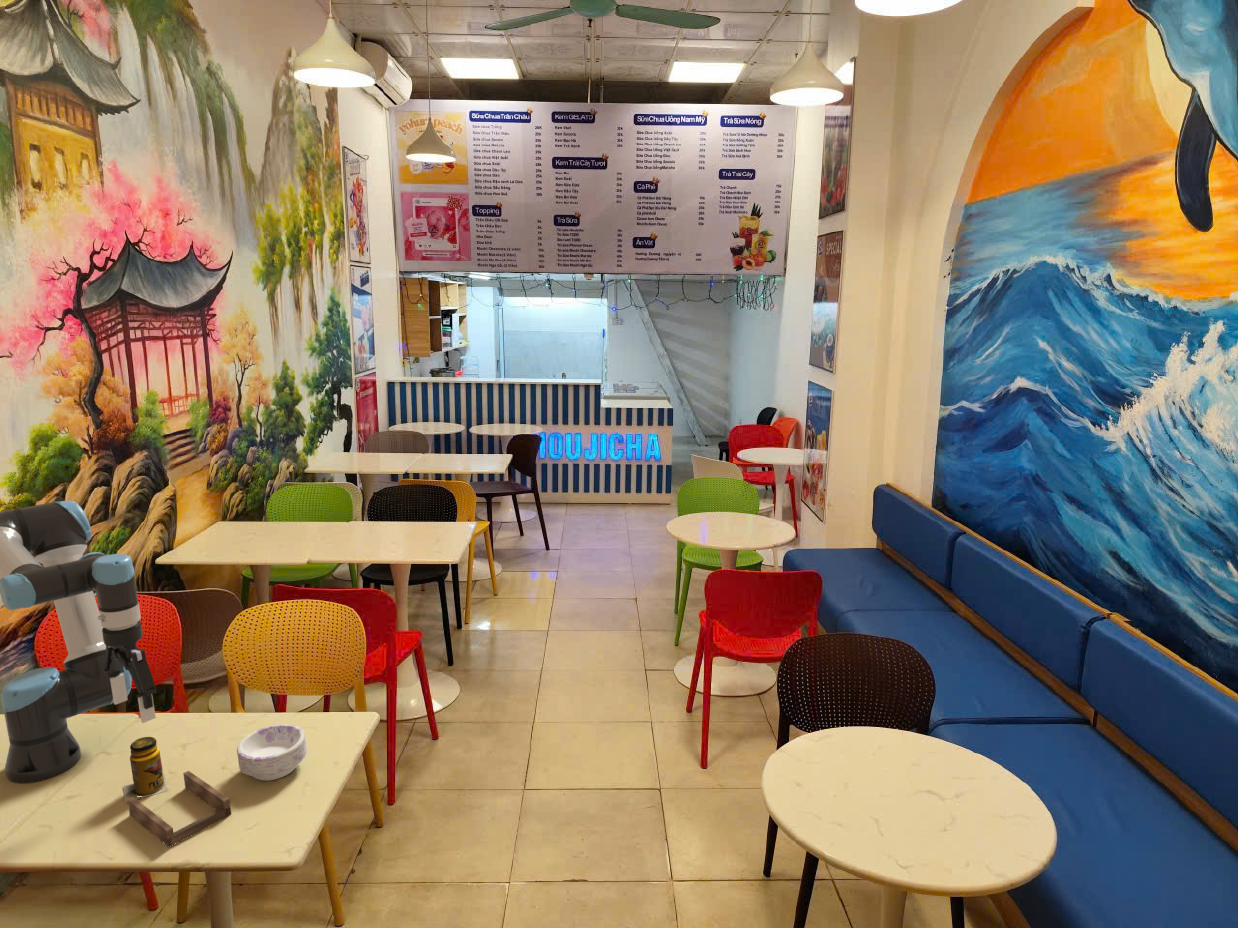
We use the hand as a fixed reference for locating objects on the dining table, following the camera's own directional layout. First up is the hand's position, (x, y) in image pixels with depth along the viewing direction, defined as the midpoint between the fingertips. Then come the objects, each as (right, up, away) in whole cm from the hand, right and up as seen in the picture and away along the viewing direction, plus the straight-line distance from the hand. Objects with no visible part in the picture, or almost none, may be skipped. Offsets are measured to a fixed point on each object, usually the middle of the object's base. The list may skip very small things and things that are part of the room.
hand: (134, 710), depth 186 cm
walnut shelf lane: (+13, -21, -5) cm, 26 cm away
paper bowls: (+27, -18, +12) cm, 35 cm away
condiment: (0, -20, +5) cm, 20 cm away
